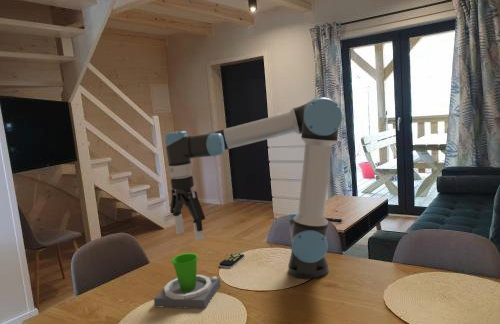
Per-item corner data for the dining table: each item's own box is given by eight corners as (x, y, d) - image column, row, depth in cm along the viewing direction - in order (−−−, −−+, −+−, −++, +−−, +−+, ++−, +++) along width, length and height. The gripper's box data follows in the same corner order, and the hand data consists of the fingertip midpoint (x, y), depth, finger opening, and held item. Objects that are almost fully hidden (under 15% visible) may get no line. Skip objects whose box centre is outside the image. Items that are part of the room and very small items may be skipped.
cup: (206, 285, 129) (203, 255, 127) (186, 296, 122) (182, 265, 121) (190, 279, 135) (187, 251, 133) (170, 290, 128) (166, 259, 127)
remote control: (218, 267, 152) (217, 263, 152) (233, 256, 163) (233, 252, 163) (231, 269, 149) (230, 264, 149) (245, 257, 160) (245, 253, 160)
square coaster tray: (220, 285, 134) (219, 274, 134) (205, 308, 119) (203, 296, 118) (175, 284, 139) (174, 274, 138) (155, 306, 123) (153, 295, 123)
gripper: (155, 176, 133) (164, 233, 135) (189, 181, 113) (198, 246, 116) (174, 172, 137) (182, 227, 140) (210, 176, 118) (218, 239, 120)
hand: (189, 236), depth 128 cm, fingers open, 13 cm apart
